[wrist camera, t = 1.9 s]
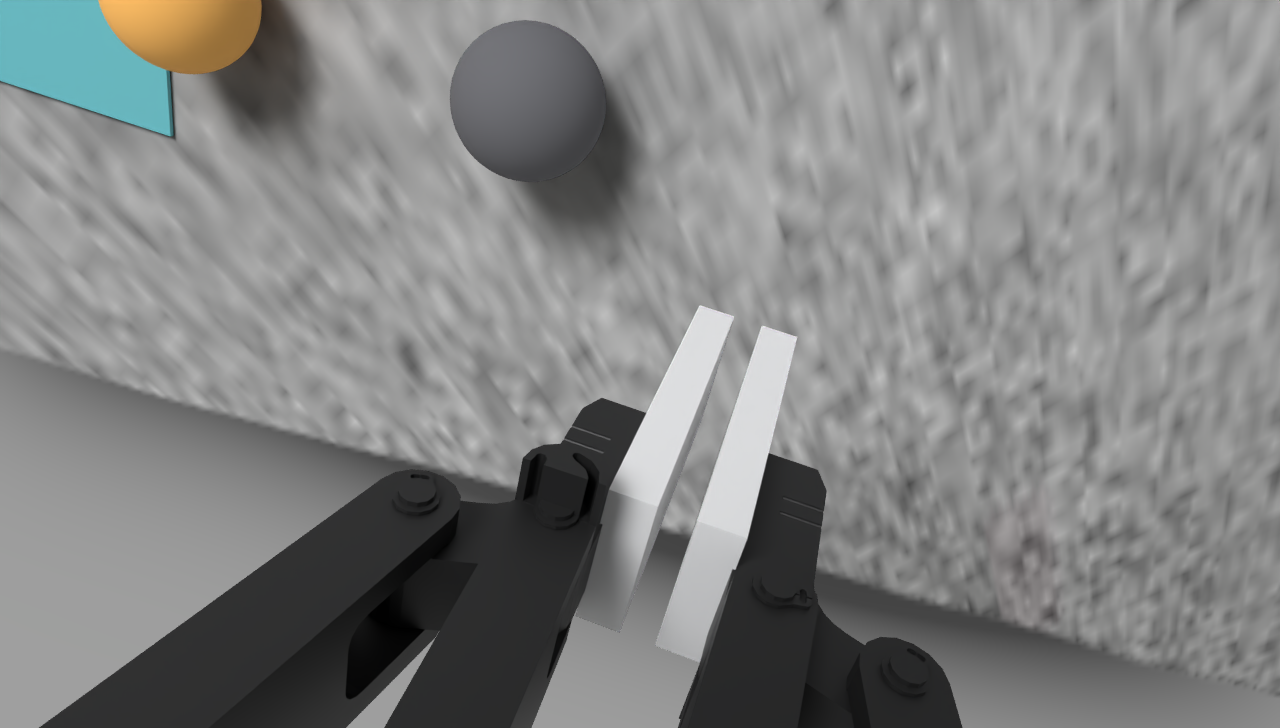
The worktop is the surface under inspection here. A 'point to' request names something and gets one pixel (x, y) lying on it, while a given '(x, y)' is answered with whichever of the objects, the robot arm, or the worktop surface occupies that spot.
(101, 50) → the teal mark
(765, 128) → the worktop surface
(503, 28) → the gray ball
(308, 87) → the worktop surface
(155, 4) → the orange ball
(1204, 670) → the worktop surface
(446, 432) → the worktop surface
